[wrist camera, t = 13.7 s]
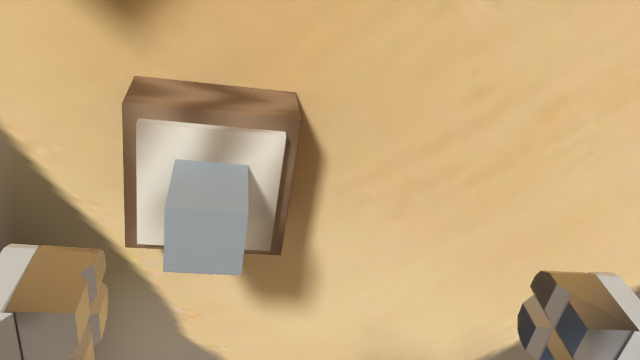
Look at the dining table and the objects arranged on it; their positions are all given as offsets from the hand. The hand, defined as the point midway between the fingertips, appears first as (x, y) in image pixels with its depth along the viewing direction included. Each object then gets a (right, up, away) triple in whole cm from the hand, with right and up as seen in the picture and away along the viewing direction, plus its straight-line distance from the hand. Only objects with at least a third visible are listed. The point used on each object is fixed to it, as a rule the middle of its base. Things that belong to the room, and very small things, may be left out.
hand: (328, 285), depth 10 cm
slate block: (-8, +1, +30) cm, 31 cm away
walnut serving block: (-9, +4, +35) cm, 36 cm away
